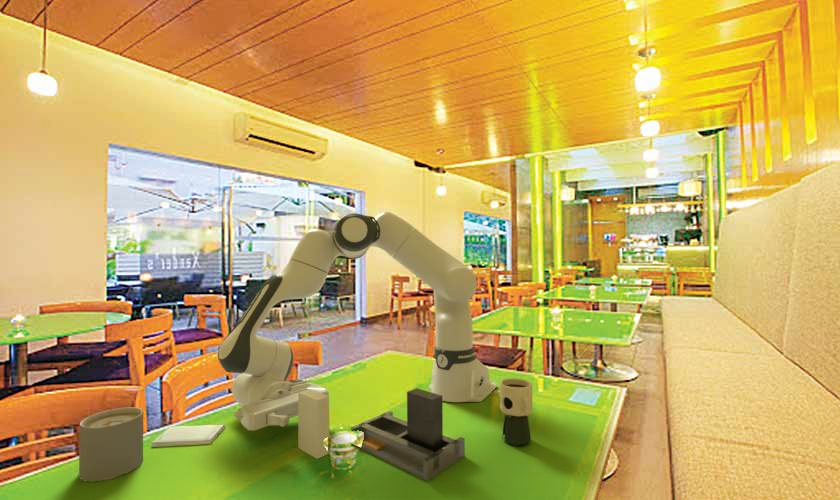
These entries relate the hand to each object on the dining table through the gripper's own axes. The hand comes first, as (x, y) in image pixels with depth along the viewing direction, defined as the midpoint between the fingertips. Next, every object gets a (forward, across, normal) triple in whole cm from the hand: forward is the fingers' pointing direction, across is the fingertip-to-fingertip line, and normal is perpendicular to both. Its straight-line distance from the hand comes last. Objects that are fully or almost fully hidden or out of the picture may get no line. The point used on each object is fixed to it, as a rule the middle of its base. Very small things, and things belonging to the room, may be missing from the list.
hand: (305, 414), depth 86 cm
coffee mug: (-23, -29, +7) cm, 38 cm away
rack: (+18, +13, +7) cm, 23 cm away
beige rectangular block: (+3, 0, +7) cm, 7 cm away
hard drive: (-24, -15, +7) cm, 29 cm away
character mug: (+34, +32, +7) cm, 47 cm away
